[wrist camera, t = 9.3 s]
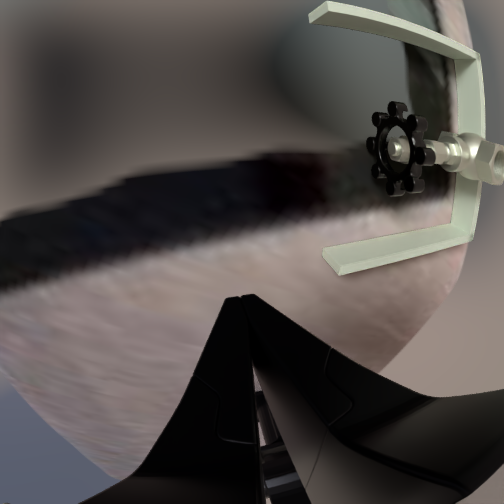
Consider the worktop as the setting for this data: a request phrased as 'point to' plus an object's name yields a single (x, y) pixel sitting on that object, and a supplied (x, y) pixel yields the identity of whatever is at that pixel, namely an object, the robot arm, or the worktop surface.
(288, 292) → the worktop surface
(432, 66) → the worktop surface
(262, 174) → the worktop surface
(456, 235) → the u-shaped bracket
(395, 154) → the valve
